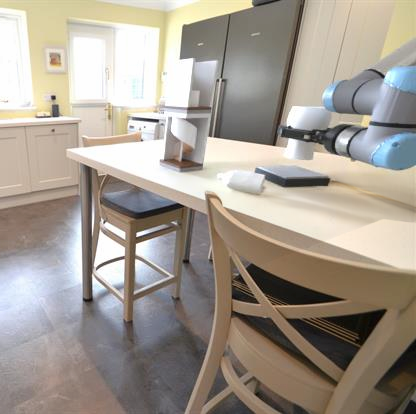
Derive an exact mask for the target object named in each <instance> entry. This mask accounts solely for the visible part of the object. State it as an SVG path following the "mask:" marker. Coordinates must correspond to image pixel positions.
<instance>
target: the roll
mask: <svg viewBox="0 0 416 414" xmlns="http://www.w3.org/2000/svg"><path fill="white" fill-rule="evenodd" d="M216 177H217V180H219V181H220V182H221V183H223V185H225V187H227V188H228V189H229V190H233V191H239V192H245V193H248V194H254V195H259V196H260V195H261V193H262V191H263V188H264V183H265V180H266V179H265V175H263V174H257V173H255V172H252V171H246V170H240V169H235V170H231V171H228V172H225V173H223V172H221V173H217V175H216Z"/></svg>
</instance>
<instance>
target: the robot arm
mask: <svg viewBox="0 0 416 414" xmlns="http://www.w3.org/2000/svg"><path fill="white" fill-rule="evenodd" d="M321 100H322V101H321V102H322V107H325V108H326V109H327V110H328V111H331V112H332V113H337V114H340V115H343V114H344V115H358V116H370V120H369V122H368V126H366V125H365V126H364V125H357V124H356V125H355V124H349V123H341V124H338V125H335V126H333V127H328V128H327V129H325V130H320V129H313V130H312V131H311V130H302V129H294V128H293V127H291V125H288V126H287V125H283V124H278V127H277V131H276V135H279V137H280V138H285V139H288V140H289V139H295V140H300V141H304V142H314V143H316V144H319V145H322V146H323V147H324V149H325V150H326V151H327V153H329V154H332V155H335V156H339V157H344V158H346V159H347V158H348V159H350V162H352V163H353V162H356V161H358V162H361V163H363V164H367V165H370V166H373V167H375V168H381V169H386V170H390V171H395V172H398V171H399V172H400V171H404V170H409V169H411V168H413V167H415V166H416V36H414V37H413V38H411V39H410V40H408V41H406V42H405V43H404V44H402V45H401V46H399V47H398V48H396V49H394V50H393V51H391V52H390V53H388V54H386V55H385V56H383V57H382V58H381V59H379V60H378V61H377V62H375V63H373V64H372V65H370V66H368V67H367V68H366V69H364V70H363V71H361V72H359V73H358V74H357V75H355V76H353V77H352V78H350V79H342V80H338V81H335V82H333V83H331V84H330V85H329V86H327V88H326V89H325V90H324V92H323V95H322V99H321ZM316 132H319V133H317V135H316Z"/></svg>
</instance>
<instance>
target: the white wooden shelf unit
mask: <svg viewBox="0 0 416 414" xmlns="http://www.w3.org/2000/svg"><path fill="white" fill-rule="evenodd" d="M219 62H220V60H217V59H216V60H207V61H196V58H195V57H192V58H184V59H176V60H169V61H168V64H167V75H166V76H167V77H166V88H165V99H164V110H163V116H164V117H165V127H164V137H163V138H164V139H163V149H162V158H161V159H159V164H158V165H159V166H161V167H163V168H167V169H170V170H172V171H175V172H178V173H183V172H191V171H198V170H203V169H204V161H205V154H206V149H207V141H208V135H209V129H210V122H211V116H212V110H213V109H212V108H213V103H214V95H215V89H216V82H217V77H218V76H217V75H218V69H219Z"/></svg>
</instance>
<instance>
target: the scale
mask: <svg viewBox="0 0 416 414" xmlns="http://www.w3.org/2000/svg"><path fill="white" fill-rule="evenodd" d="M254 173H257V174H263V175H265V180H266V181H267V182H270V183H273V184H275V185H277V186H280V187H282V188H304V187H305V188H307V187H328V186H329V185H330V182H331V178H330V177H329V175H326V174H323V173H320V172H317V171H314V170H311V169H307V168H304V167H302V166H299V165H258V166H257V167H255V168H254Z"/></svg>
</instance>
